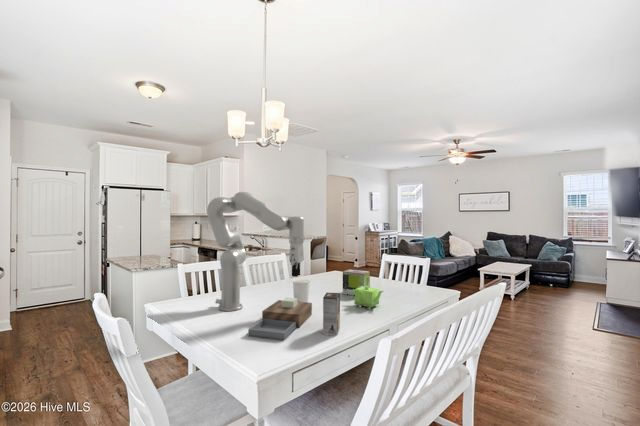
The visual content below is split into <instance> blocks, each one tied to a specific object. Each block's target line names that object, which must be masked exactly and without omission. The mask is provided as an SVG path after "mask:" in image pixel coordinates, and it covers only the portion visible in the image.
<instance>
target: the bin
mask: <svg viewBox="0 0 640 426" xmlns="http://www.w3.org/2000/svg"><path fill="white" fill-rule="evenodd" d="M295 330H297V328H296V322H290V321H280V320H271V319H262V318H261V319H260V320H259V321H258V322H256V323H255V324H253V325H252V326H250V327H249V328H248V333H247V334H248V336H247V337H251V338H259V339H269V340H274V341H275V340H276V341H285V340H287V338H289V336H290V335H291V334H293V332H294V331H295Z"/></svg>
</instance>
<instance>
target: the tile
mask: <svg viewBox="0 0 640 426" xmlns="http://www.w3.org/2000/svg"><path fill="white" fill-rule="evenodd" d="M281 300H282V307H289V308H294V307H295V306H296V305H297V300H298V299H297V298H294V297H285V298H283V299H281Z"/></svg>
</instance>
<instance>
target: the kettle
mask: <svg viewBox="0 0 640 426" xmlns="http://www.w3.org/2000/svg"><path fill="white" fill-rule="evenodd" d="M351 292H352V293H353V294H354V295H355V296H354V295H353V296H354V305H358V306H362V307H366V309H367V308H373V306H374V307H376V306H378V305H379V304H380V302H379V301H380V298H381V294H382V293H383V292H385V291H384V290H380V289H379V288H377V287H376V288H375V287H371V286H370V287H369V286H365V287H363V286H362V287H359V288H357V289H355V290H354V289H353V290H352V291H351Z"/></svg>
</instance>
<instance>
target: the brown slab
mask: <svg viewBox="0 0 640 426" xmlns="http://www.w3.org/2000/svg"><path fill="white" fill-rule="evenodd" d="M282 300H283V299H278V300H276V301H275V302H273V303H272V304H270V306H268V307H266V308H265V309H263V310H262V311H261V314H262V315H261V316H262V317H261V320H262V319H271V320H280V321H290V322H296V329H297V328H300V327H302V326H303V325H304V324H305V322H306V321H307V320H308V319H310V317H311V316H312V310H313V308H312V307H313V303H312V302H297V305H296V306H295V307H294V308H289V307H282Z"/></svg>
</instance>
